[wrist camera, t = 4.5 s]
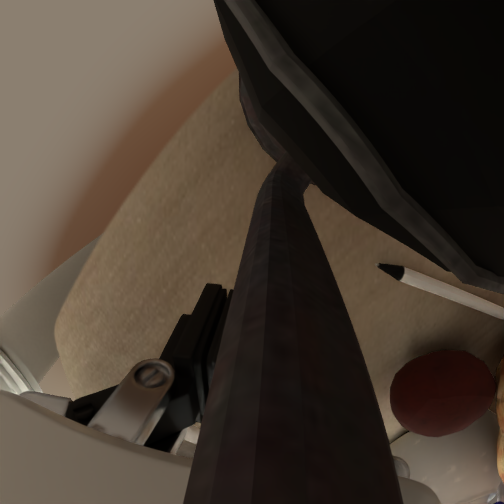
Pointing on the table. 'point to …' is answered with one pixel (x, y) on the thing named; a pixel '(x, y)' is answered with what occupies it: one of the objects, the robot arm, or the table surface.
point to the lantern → (359, 204)
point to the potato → (441, 392)
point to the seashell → (500, 416)
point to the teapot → (456, 462)
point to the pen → (441, 289)
